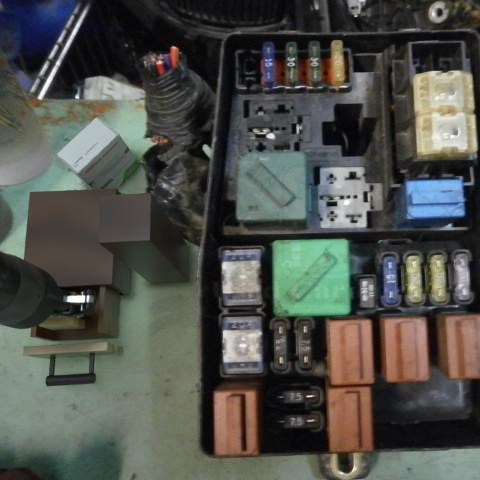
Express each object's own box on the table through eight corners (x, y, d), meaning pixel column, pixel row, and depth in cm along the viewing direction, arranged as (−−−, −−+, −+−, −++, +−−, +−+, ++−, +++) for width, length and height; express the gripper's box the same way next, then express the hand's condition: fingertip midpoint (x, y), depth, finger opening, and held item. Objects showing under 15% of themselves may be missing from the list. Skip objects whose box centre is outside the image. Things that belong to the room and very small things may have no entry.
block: (84, 328, 77) (72, 324, 72) (52, 330, 76) (38, 326, 72) (86, 297, 78) (74, 292, 74) (55, 299, 78) (41, 293, 73)
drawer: (122, 383, 81) (105, 381, 74) (43, 388, 80) (19, 387, 73) (126, 267, 86) (111, 256, 79) (52, 271, 85) (30, 260, 78)
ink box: (120, 148, 92) (96, 113, 81) (142, 165, 92) (120, 132, 80) (83, 184, 90) (53, 153, 79) (105, 202, 89) (77, 173, 78)
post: (189, 282, 86) (150, 240, 63) (151, 284, 86) (97, 243, 63) (189, 246, 88) (151, 192, 65) (151, 248, 88) (100, 194, 65)
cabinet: (130, 295, 85) (112, 284, 77) (49, 300, 85) (20, 288, 76) (133, 208, 89) (116, 188, 81) (55, 212, 89) (29, 191, 80)
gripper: (-62, 328, 59) (15, 343, 75) (71, 320, 60) (119, 337, 76) (-54, 261, 61) (20, 290, 78) (75, 255, 62) (121, 285, 78)
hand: (69, 313), depth 77 cm, fingers closed on block, 4 cm apart
